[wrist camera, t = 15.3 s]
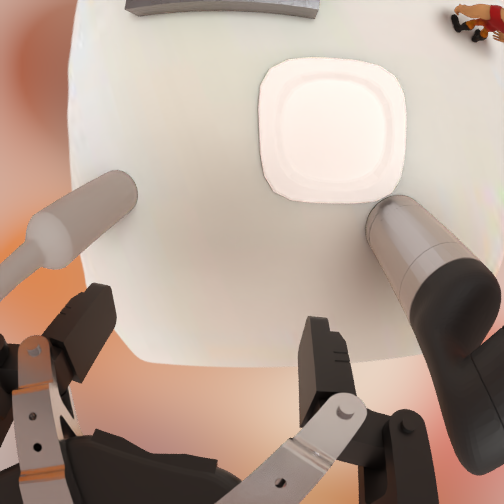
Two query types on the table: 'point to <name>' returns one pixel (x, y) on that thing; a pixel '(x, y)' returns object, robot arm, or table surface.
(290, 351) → the table surface
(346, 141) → the plate
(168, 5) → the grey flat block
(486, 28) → the action figure
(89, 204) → the bottle
